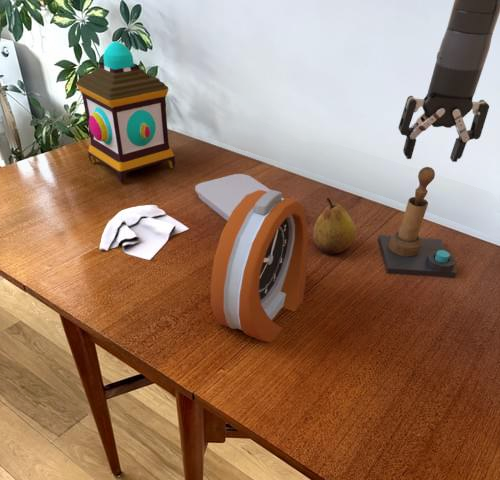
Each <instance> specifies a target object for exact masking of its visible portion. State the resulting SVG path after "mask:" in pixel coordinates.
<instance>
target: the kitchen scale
mask: <svg viewBox="0 0 500 480" xmlns="http://www.w3.org/2000/svg"><path fill="white" fill-rule="evenodd" d="M391 236H392V235H383V234H381V235H380V234H379V235H378V239H377V242H378V246H379V249H380V253H381V257H382V260H383V264H384V267H385V271H386V274H388V275H389V274H391V275H405V276H406V275H407V276H421V277H435V278H436V277H437V278H450V279H455V278H456V276H457V270H456V268H455V264H456V258H455V257H454V256H453V255H452V254H450V257H449V259H448V262H447V263H441V262H438V261H436V260H435V256H436V253H437V251H439V250H444V251H447V249H446V246H445V244H444V242H443V239H442V238H429V237H427V238H426V237H419V238H420V239H421V241H422V244H421V247H420V250H419V253H418V254H417V255H415V256H410V257H406V256H400V255H397V254H395V253H393V252H392V251H391V250H390V249H389V242H390V239H391Z"/></svg>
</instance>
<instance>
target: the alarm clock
mask: <svg viewBox="0 0 500 480" xmlns="http://www.w3.org/2000/svg"><path fill="white" fill-rule="evenodd" d="M270 190H271V191H268V192H267V191H263V190H257V191H255V192H253V193H250V194H248V195H246V196H245V197H244V198H243V199H242V201H241V202H240V203H239V204H238V205H237V206H236V208H235V209H234V210H233V212H232V214H231V216H230V218H229V219H228V221H227V220H226V223H225V226H224V228H223V229H222V231H221V234H220V236H219V241H218V244H217V248H216V252H215V254H214V257H213V264H212V271H211V276H210V277H211V278H210V306H211V310H212V314H213V317H214V318H215V319H216V321H217V322H218V323H219V324H220V325H222V326H224V327H226V328H229V329H232V330H236V329H238V330H240V331H242V332H243V333H244V335H246V336H248V337H252V338H254V339H256V340H258V341H261V342H266V343H270V342H273V341H274V339H275V338H276V337H277V335H278V334H279V333H280V332H281V330H282V327H281V326H279V324H276V323H275V322H274V321H273V319H274V318H275V317H276V316H277V314H278V313H279V312H280V311H281V309H282V308H283V309H286V310H288V311H292V312H296V311H297V310H298V308H299V307H300V305H301V304H302V303H303V301H304V296H305V291H306V282H307V274H308V255H309V253H308V252H309V251H308V249H309V247H308V246H309V245H308V244H309V235H308V223H307V222H308V221H307V216H306V210H305V206H304V205H303V204H302V203H301V202H299V201H297V200H296V199H294V198H290V197H286V198H283V197H282V196H283V193H282V191H279V190H274V189H270ZM281 198H283V199H281Z"/></svg>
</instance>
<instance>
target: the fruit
mask: <svg viewBox="0 0 500 480" xmlns="http://www.w3.org/2000/svg"><path fill="white" fill-rule="evenodd" d="M326 201H327V202H328V203H329V205H328V206H326V207H325V209H324V210H323V211H322V213H321V214H320V215H319V216H318V218H317V219H316V221H315V223H314V226H313V231H312V233H313V234H312V238H313V242H314V244H315V246H316V248H317V249H318V250H319V251H321V252H322V253H324V254H326V255H336V254H340V253H343V252H344V251H345V250H347V249H348V248H350V247H351V245H352V243H353V242H354V240H355V237H356V228H355V224H354V222H353V219H352V217H351V216H350V215H349V213H348V212H347V211H346V209H344V207H343V206H342V205H340V204H339V203H332V201H331V199H330V198H329V197H326Z"/></svg>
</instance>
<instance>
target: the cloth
mask: <svg viewBox="0 0 500 480" xmlns="http://www.w3.org/2000/svg"><path fill="white" fill-rule="evenodd" d="M104 227H105V228H104V230H103V232H102V235H101V237H100V239H101V240H100V244H99V251H107V252H108V251H109V250H113V249H115V248H118V247H119V244H120V243H121V245H122V246H121V247H122V251H123V253H124V254H127V255H129V256H131V257H136V258H139V259H143V260H147V261H151V260H152V259H153V258H154V257H155V256H156V255H157V253H158V252H159V251H160V250H162V248H163V247H164V246H165V245H166V244H167V242H168V241H169V238H170V237H173V236H175V235H178V234H180V233H183V232H186V231H189V230H190V228H189V227H188V226H186V225H184V224H183V223H181V222H180V221H178V220H177V219H175V218H173V217H172V216H170V215H168V214H167V213H166V212H165V211H164V210H163V209H161V208H159V207H158V205H155V204H146V205H138V206H132V207H128V208H124V209H122V210H120V211H118V212H117V213H116V214H115V215H114V217H113V218H112V219H110V220H109V221H108V222H107V224H106V225H105V226H104Z"/></svg>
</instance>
